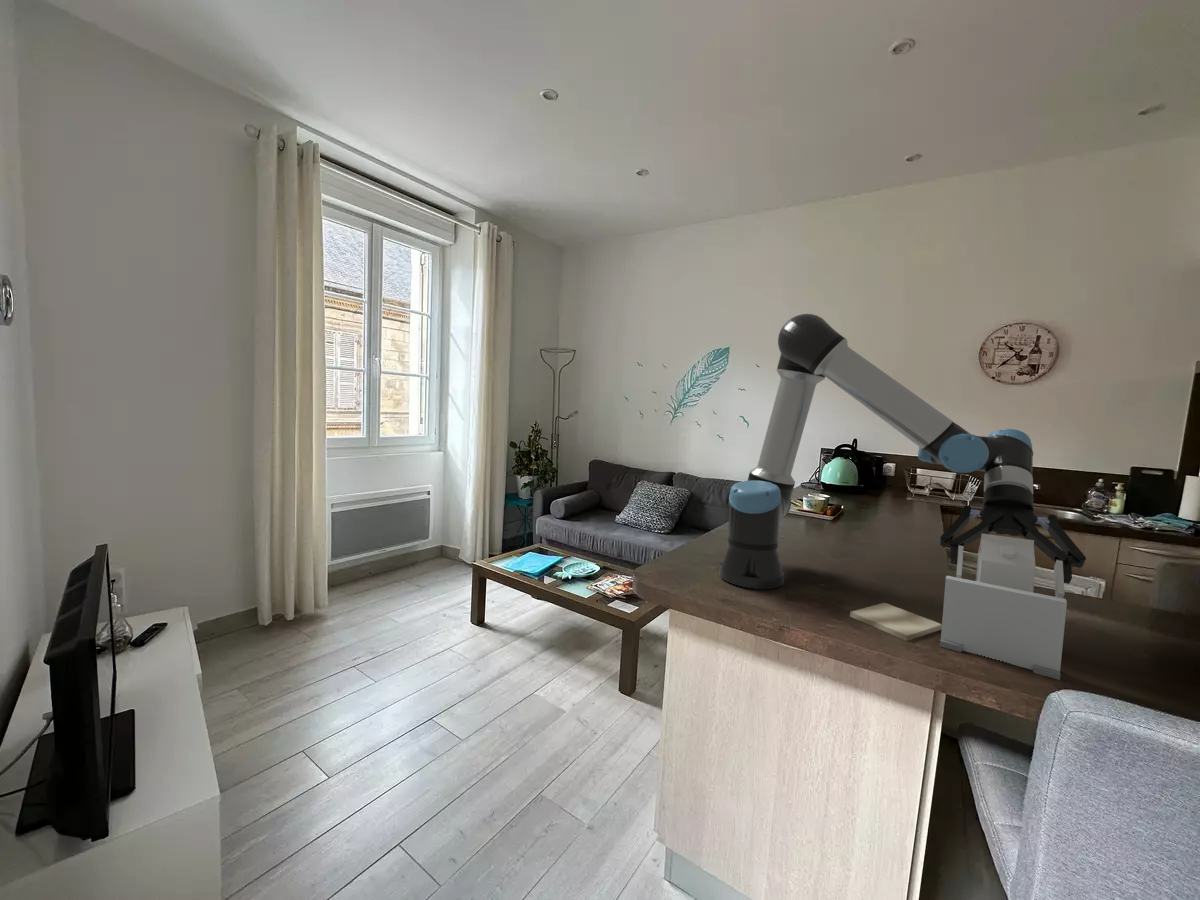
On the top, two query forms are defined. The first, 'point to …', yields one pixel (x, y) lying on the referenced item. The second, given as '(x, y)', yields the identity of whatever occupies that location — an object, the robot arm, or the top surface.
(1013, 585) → the milk carton
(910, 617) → the birch board
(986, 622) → the grey screen
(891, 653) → the top surface
